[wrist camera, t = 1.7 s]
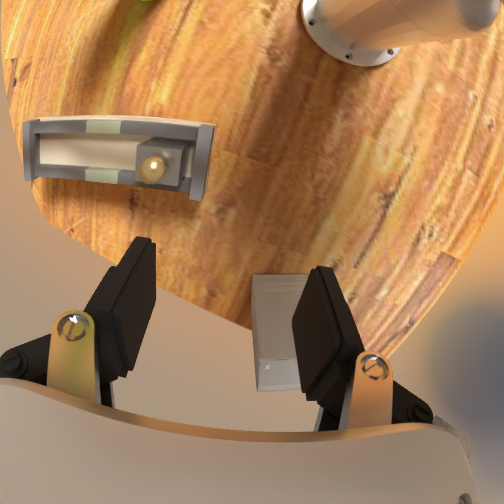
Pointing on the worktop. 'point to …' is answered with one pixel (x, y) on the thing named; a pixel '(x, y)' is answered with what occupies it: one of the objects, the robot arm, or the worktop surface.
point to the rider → (162, 161)
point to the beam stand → (112, 149)
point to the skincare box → (275, 330)
